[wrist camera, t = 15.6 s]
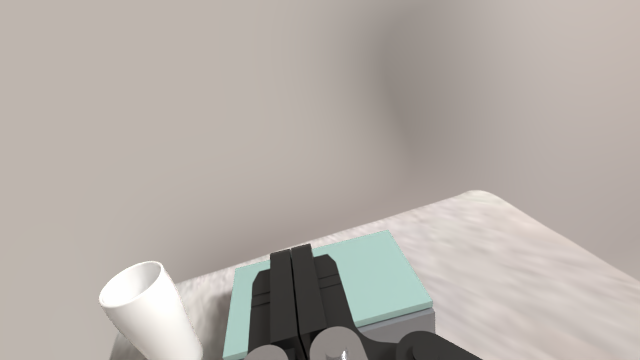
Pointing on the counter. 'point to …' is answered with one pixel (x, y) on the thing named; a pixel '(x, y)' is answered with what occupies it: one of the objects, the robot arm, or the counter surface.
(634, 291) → the counter surface
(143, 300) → the white tapered cylinder
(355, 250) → the panel
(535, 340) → the counter surface
